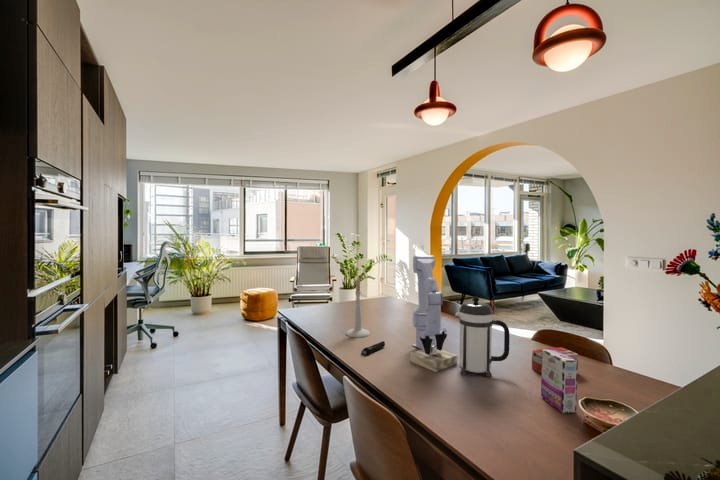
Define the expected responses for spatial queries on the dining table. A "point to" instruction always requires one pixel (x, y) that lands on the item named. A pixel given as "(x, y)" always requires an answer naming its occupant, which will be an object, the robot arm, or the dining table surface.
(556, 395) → the candy bar box
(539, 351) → the medicine box
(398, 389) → the dining table surface
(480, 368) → the coffee press
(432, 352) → the peg
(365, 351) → the electric trimmer
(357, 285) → the candlestick
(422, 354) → the socket block
